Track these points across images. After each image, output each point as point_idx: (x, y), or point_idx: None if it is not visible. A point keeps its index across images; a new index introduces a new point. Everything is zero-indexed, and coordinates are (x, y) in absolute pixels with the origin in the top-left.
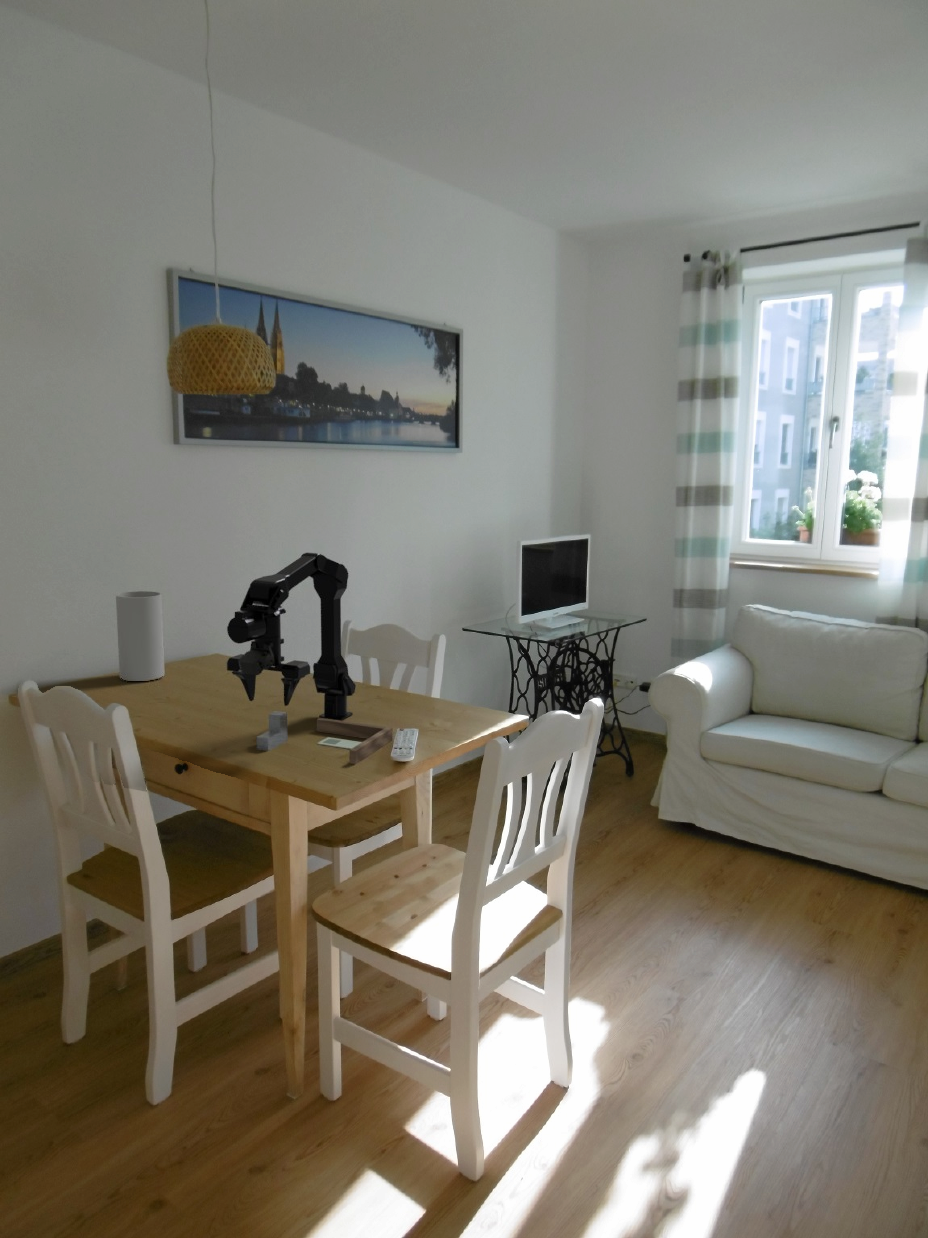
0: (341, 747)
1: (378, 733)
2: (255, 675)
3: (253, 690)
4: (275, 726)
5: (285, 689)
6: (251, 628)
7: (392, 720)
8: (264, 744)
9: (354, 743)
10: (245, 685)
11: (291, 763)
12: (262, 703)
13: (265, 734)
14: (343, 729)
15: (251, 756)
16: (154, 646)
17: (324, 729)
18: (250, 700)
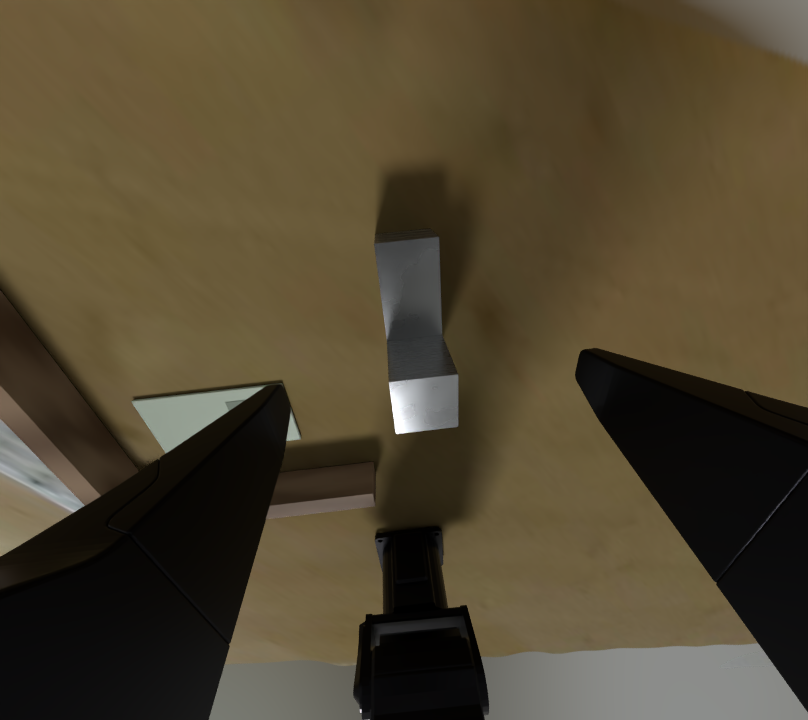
0: (187, 394)
1: (88, 490)
2: (739, 604)
3: (625, 431)
4: (412, 349)
5: (152, 487)
6: None
7: (278, 579)
8: (393, 236)
9: (186, 436)
10: (757, 404)
11: (160, 139)
12: (629, 533)
13: (423, 286)
14: (279, 487)
15: (387, 124)
16: None
17: (346, 471)
18: (588, 349)
